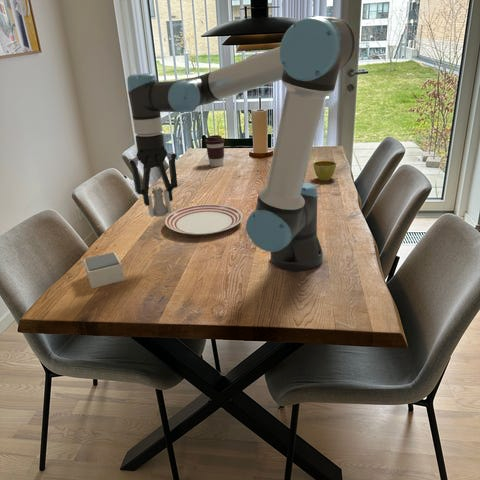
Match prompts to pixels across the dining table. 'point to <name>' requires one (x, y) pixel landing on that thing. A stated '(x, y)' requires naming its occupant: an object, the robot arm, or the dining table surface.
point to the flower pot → (324, 169)
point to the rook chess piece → (159, 203)
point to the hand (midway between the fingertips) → (160, 213)
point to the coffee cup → (215, 150)
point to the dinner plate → (203, 219)
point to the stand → (103, 270)
